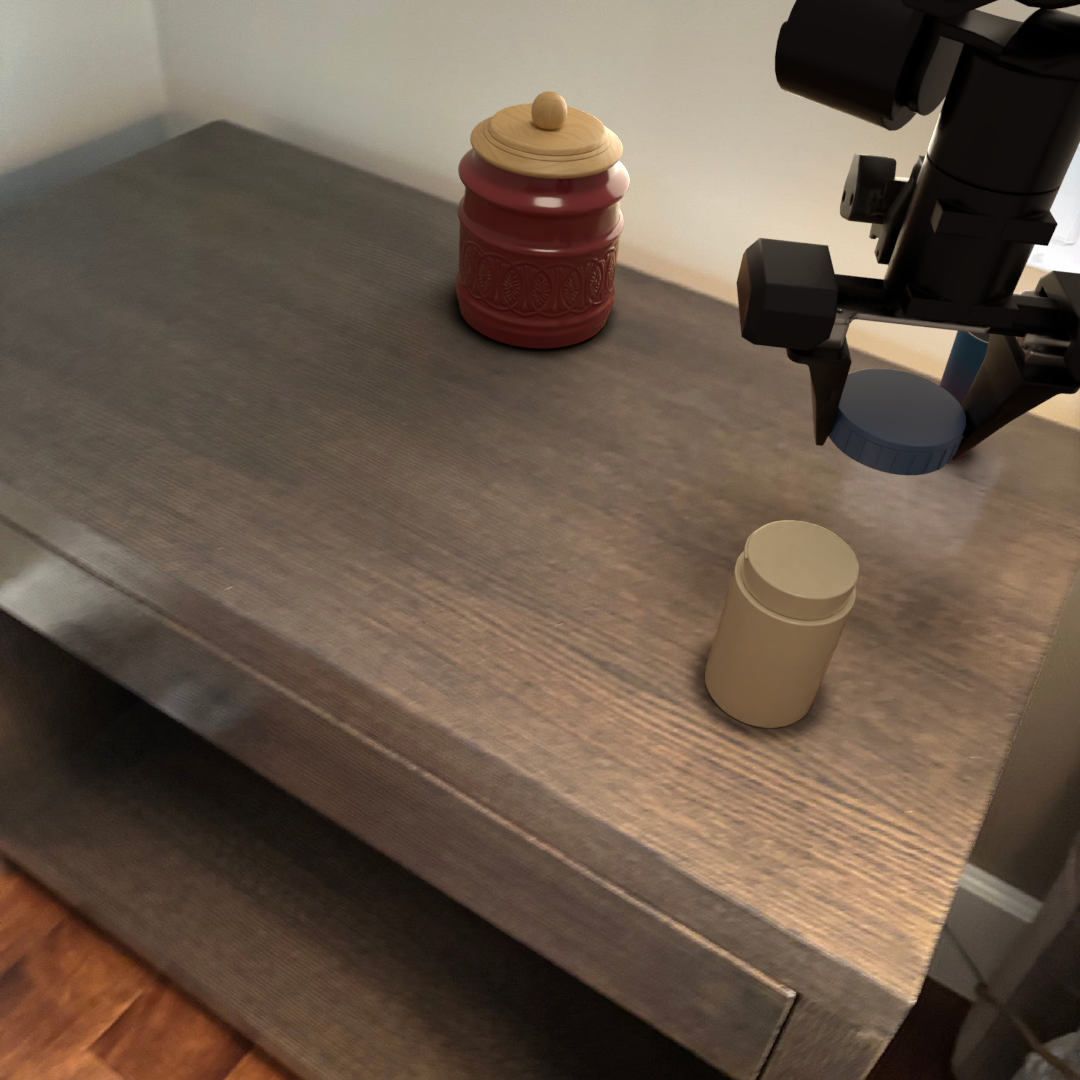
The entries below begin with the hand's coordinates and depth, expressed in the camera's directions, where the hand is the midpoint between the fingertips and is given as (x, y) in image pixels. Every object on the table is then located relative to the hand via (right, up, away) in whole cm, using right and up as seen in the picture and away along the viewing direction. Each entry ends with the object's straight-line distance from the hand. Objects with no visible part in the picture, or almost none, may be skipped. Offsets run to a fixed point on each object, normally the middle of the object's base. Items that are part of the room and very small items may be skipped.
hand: (883, 448), depth 55 cm
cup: (+11, +2, +21) cm, 24 cm away
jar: (-6, -13, +3) cm, 15 cm away
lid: (0, +2, -2) cm, 2 cm away
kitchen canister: (-19, +14, +31) cm, 39 cm away
